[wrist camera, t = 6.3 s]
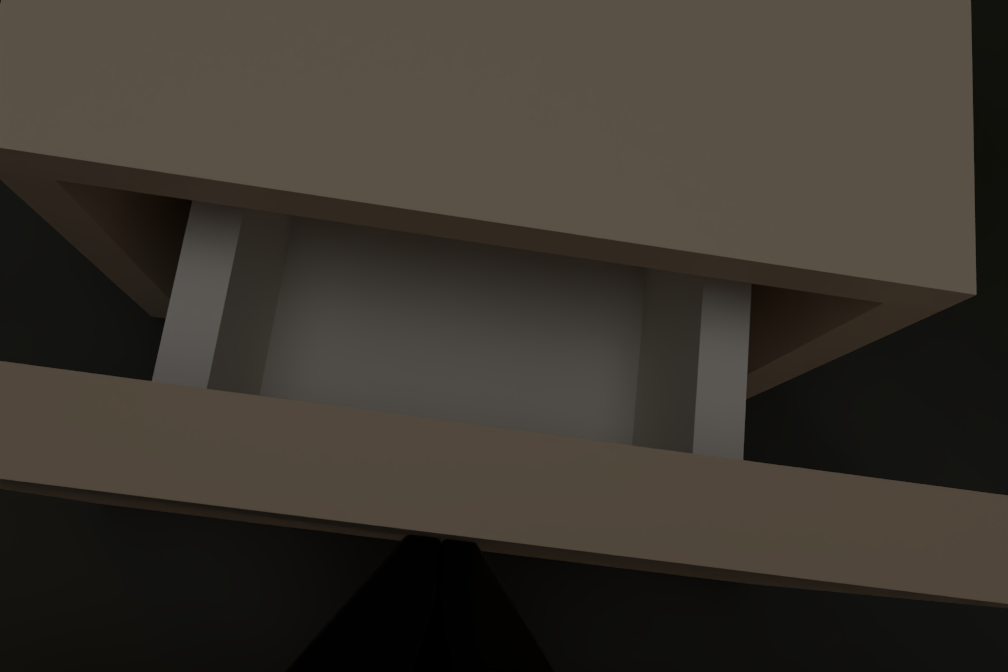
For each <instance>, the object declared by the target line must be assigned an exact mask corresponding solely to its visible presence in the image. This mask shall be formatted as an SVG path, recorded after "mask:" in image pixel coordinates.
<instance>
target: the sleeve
mask: <svg viewBox="0 0 1008 672" xmlns="http://www.w3.org/2000/svg"><path fill="white" fill-rule="evenodd" d="M0 180H2V181H3V182H4V183H5V184H6V185H7V186H8V187H9V188H10V189H12V190H13V191H14V192H15V193H16V194H17V195H18V196H19V197H20V198H21V199H23V200H24V201H25V202H26V203H27V204H28V205H29V206H30V207H31V208H32V209H34V210H35V211H36V212H37V213H38V214H39V215H40V216H41V217H42V218H43V219H45V220H46V221H47V222H48V223H49V224H50V225H51V226H52V227H53V228H54V229H56V230H57V231H58V232H59V233H60V234H61V235H62V236H63V237H64V238H65V239H67V240H68V241H69V242H70V243H71V244H72V245H73V246H74V247H75V248H76V249H78V250H79V251H80V252H81V253H82V254H83V255H84V256H85V257H86V258H87V259H89V260H90V261H91V262H92V263H93V264H94V265H95V266H96V267H97V268H98V269H100V270H101V271H102V272H103V273H104V274H105V275H106V276H107V277H108V278H109V279H111V280H112V281H113V282H114V283H115V284H116V285H117V286H118V287H119V288H120V289H122V290H123V291H124V292H125V293H126V294H127V295H128V296H129V297H130V298H131V299H133V300H134V301H135V302H136V303H137V304H138V305H139V306H140V307H141V308H142V309H144V310H145V311H146V312H147V313H148V314H149V315H150V316H151V317H158V318H166V316H167V312H168V307H169V303H170V298H171V294H172V289H173V285H174V280H175V276H176V271H177V267H178V263H179V258H180V254H181V249H182V245H183V240H184V236H185V231H186V227H187V222H188V218H189V213H190V209H191V205H192V200H194V201H201V202H207V203H214V204H221V205H227V206H234V207H241V208H248V209H254V210H261V211H268V212H275V213H281V214H288V215H295V216H301V217H308V218H315V219H322V220H328V221H335V222H342V223H349V224H355V225H362V226H369V227H375V228H382V229H389V230H396V231H402V232H409V233H416V234H423V235H429V236H436V237H443V238H449V239H456V240H463V241H470V242H476V243H483V244H490V245H497V246H503V247H510V248H517V249H523V250H530V251H537V252H544V253H550V254H557V255H564V256H571V257H577V258H584V259H591V260H597V261H604V262H611V263H618V264H624V265H631V266H638V267H645V268H651V269H658V270H665V271H671V272H678V273H685V274H692V275H698V276H705V277H712V278H719V279H725V280H732V281H739V282H746V283H752V287H751V307H750V327H749V347H748V368H747V388H746V399H748V398H750V397H752V396H755V395H757V394H759V393H761V392H763V391H766V390H768V389H770V388H772V387H774V386H777V385H779V384H781V383H783V382H785V381H788V380H790V379H792V378H794V377H796V376H799V375H801V374H803V373H805V372H807V371H810V370H812V369H814V368H816V367H818V366H821V365H823V364H825V363H827V362H829V361H832V360H834V359H836V358H838V357H840V356H843V355H845V354H847V353H849V352H851V351H854V350H856V349H858V348H860V347H862V346H865V345H867V344H869V343H871V342H873V341H876V340H878V339H880V338H882V337H884V336H887V335H889V334H891V333H893V332H895V331H898V330H900V329H902V328H904V327H906V326H909V325H911V324H913V323H915V322H917V321H920V320H922V319H924V318H926V317H928V316H931V315H933V314H935V313H937V312H939V311H942V310H944V309H946V308H948V307H950V306H953V305H955V304H957V303H959V302H961V301H964V300H966V299H968V298H970V297H972V296H975V295H976V251H975V198H974V144H973V91H972V37H971V0H1V3H0Z"/></svg>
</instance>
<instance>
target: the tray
mask: <svg viewBox="0 0 1008 672" xmlns="http://www.w3.org/2000/svg"><path fill="white" fill-rule="evenodd" d="M751 287H752V283H746V282H739V281H732V280H725V279H719V278H712V277H705V276H698V275H692V274H685V273H678V272H671V271H665V270H658V269H651V268H645V267H638V266H631V265H624V264H618V263H611V262H604V261H597V260H591V259H584V258H577V257H571V256H564V255H557V254H550V253H544V252H537V251H530V250H523V249H517V248H510V247H503V246H497V245H490V244H483V243H476V242H470V241H463V240H456V239H449V238H443V237H436V236H429V235H423V234H416V233H409V232H402V231H396V230H389V229H382V228H375V227H369V226H362V225H355V224H349V223H342V222H335V221H328V220H322V219H315V218H308V217H301V216H295V215H288V214H281V213H275V212H268V211H261V210H254V209H248V208H241V207H234V206H227V205H221V204H214V203H207V202H201V201H194V200H192V205H191V209H190V213H189V218H188V222H187V227H186V231H185V236H184V240H183V245H182V249H181V254H180V258H179V263H178V267H177V271H176V276H175V280H174V285H173V289H172V294H171V298H170V303H169V307H168V312H167V316H166V320H165V325H164V329H163V334H162V338H161V343H160V347H159V352H158V356H157V361H156V365H155V369H154V374H153V378H152V381H145V380H138V379H130V378H123V377H115V376H108V375H100V374H93V373H85V372H78V371H70V370H63V369H55V368H48V367H40V366H33V365H25V364H18V363H10V362H3V361H0V489H7V490H13V491H20V492H26V493H33V494H39V495H46V496H52V497H58V498H65V499H71V500H78V501H84V502H91V503H97V504H105V505H113V506H122V507H130V508H138V509H146V510H154V511H162V512H170V513H178V514H186V515H195V516H203V517H211V518H219V519H227V520H235V521H243V522H251V523H260V524H268V525H276V526H284V527H292V528H300V529H308V530H316V531H324V532H333V533H341V534H349V535H357V536H365V537H373V538H381V539H389V540H398V541H401V540H402V539H403V538H404V537H405V536H407V535H409V534H410V535H418V536H427V537H435V538H438V539H439V540H440V542H441V544H442V542H443V540H445V539H451V540H459V541H467V542H475V543H476V544H477V545H478V546H479V548H480V549H481V551H487V552H495V553H503V554H511V555H519V556H527V557H535V558H544V559H552V560H560V561H568V562H576V563H584V564H592V565H600V566H609V567H617V568H625V569H633V570H641V571H649V572H657V573H665V574H673V575H682V576H690V577H698V578H706V579H714V580H722V581H730V582H738V583H747V584H757V585H768V586H778V587H789V588H800V589H810V590H821V591H832V592H842V593H853V594H863V595H874V596H885V597H895V598H906V599H917V600H927V601H938V602H949V603H959V604H970V605H981V606H991V607H1002V608H1008V496H1006V495H999V494H991V493H984V492H976V491H969V490H961V489H954V488H946V487H939V486H931V485H924V484H916V483H909V482H901V481H894V480H886V479H879V478H871V477H864V476H856V475H849V474H841V473H834V472H826V471H819V470H811V469H804V468H797V467H789V466H782V465H774V464H767V463H759V462H752V461H744V460H743V449H744V429H745V408H746V388H747V368H748V347H749V327H750V307H751Z"/></svg>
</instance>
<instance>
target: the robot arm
mask: <svg viewBox="0 0 1008 672" xmlns="http://www.w3.org/2000/svg"><path fill="white" fill-rule="evenodd" d="M285 672H556V670H555V669H554V667H553V666H552V664H551V662H550V661H549V659H548V657H547V656H546V654H545V653H544V651H543V649H542V648H541V646H540V645H539V643H538V641H537V640H536V638H535V636H534V635H533V633H532V632H531V630H530V628H529V627H528V625H527V624H526V622H525V620H524V619H523V617H522V615H521V614H520V612H519V611H518V609H517V607H516V606H515V604H514V603H513V601H512V599H511V598H510V596H509V594H508V593H507V591H506V590H505V588H504V586H503V585H502V583H501V582H500V580H499V578H498V577H497V575H496V573H495V572H494V570H493V569H492V567H491V565H490V564H489V562H488V560H487V559H486V557H485V556H484V554H483V552H482V551H481V549H480V548H479V546H478V545H477V544H476V543H475V542H467V541H459V540H451V539H445V540H443V542H442V544H441V542H440V540H439V539H438V538H435V537H427V536H418V535H410V534H409V535H407V536H405V537H404V538H403V539H402V540H401V542H400V543H399V544H398V545H397V546H396V547H395V548H394V549H393V551H392V552H391V553H390V554H389V555H388V556H387V557H386V558H385V560H384V561H383V562H382V563H381V564H380V565H379V566H378V567H377V569H376V570H375V571H374V572H373V573H372V574H371V575H370V576H369V578H368V579H367V580H366V581H365V582H364V583H363V584H362V585H361V586H360V588H359V589H358V590H357V591H356V592H355V593H354V594H353V595H352V597H351V598H350V599H349V600H348V601H347V602H346V603H345V604H344V606H343V607H342V608H341V609H340V610H339V611H338V612H337V613H336V615H335V616H334V617H333V618H332V619H331V620H330V621H329V622H328V624H327V625H326V626H325V627H324V628H323V629H322V630H321V631H320V633H319V634H318V635H317V636H316V637H315V638H314V639H313V640H312V642H311V643H310V644H309V645H308V646H307V647H306V648H305V649H304V651H303V652H302V653H301V654H300V655H299V656H298V657H297V658H296V660H295V661H294V662H293V663H292V664H291V665H290V666H289V667H288V669H287V670H286V671H285Z"/></svg>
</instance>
